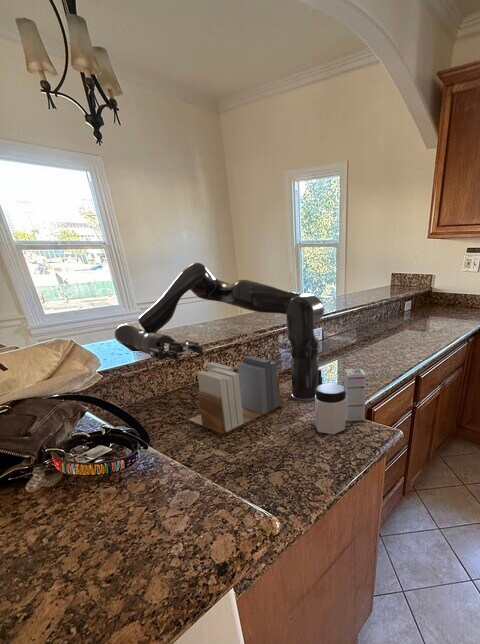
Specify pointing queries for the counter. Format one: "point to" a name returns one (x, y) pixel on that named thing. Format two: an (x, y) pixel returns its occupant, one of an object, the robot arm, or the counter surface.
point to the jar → (330, 408)
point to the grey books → (258, 384)
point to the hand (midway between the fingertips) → (189, 353)
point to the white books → (224, 394)
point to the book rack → (219, 412)
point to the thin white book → (218, 366)
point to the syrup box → (355, 394)
